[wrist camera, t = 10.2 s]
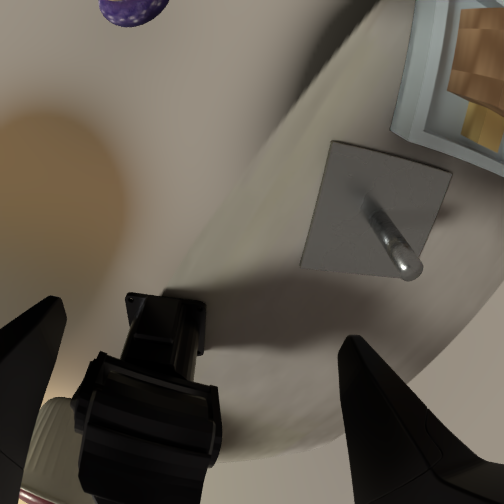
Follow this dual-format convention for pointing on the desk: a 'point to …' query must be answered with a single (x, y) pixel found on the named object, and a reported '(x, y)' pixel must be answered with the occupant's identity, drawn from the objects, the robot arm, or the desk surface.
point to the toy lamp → (131, 11)
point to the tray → (438, 86)
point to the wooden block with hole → (480, 74)
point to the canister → (54, 458)
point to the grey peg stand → (373, 213)
